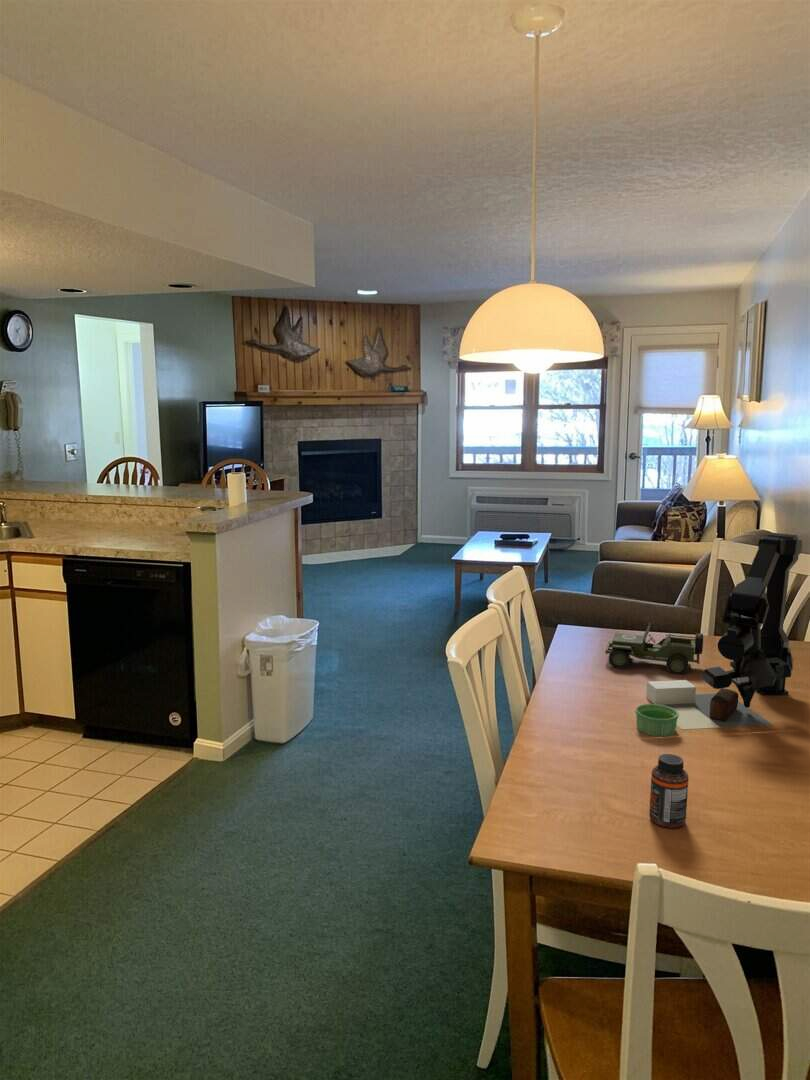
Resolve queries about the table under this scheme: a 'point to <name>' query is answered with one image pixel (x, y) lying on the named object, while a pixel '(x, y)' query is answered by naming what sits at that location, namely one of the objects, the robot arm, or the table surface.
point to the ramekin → (656, 719)
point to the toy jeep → (655, 650)
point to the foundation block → (671, 692)
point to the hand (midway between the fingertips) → (746, 706)
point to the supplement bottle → (669, 792)
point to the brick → (723, 704)
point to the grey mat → (700, 718)
